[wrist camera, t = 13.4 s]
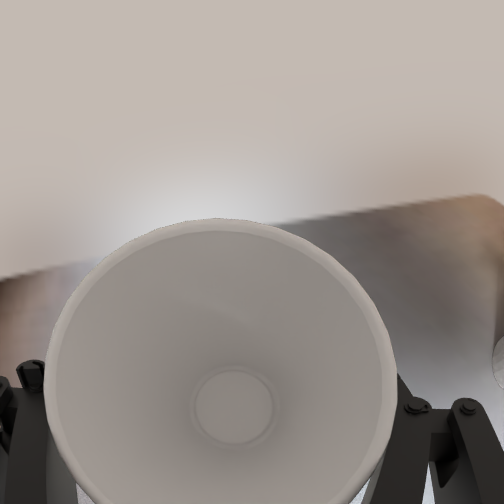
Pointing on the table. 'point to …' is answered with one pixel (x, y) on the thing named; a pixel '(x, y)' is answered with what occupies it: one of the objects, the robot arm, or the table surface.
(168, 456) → the cup
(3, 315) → the table surface
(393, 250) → the table surface
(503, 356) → the house plant
